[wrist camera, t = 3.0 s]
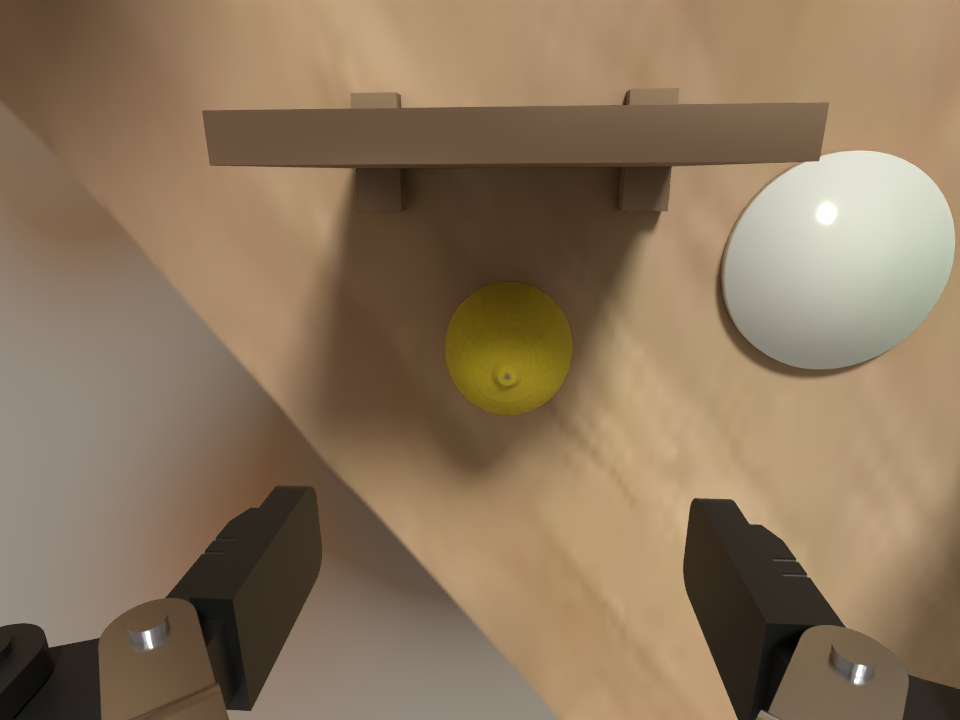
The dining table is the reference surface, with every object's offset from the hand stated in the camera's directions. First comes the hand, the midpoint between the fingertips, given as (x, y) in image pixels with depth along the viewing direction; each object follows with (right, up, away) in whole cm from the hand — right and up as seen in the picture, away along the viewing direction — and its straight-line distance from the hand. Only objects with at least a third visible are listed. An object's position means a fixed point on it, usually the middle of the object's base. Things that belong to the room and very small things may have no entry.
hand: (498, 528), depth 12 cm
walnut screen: (+1, +13, +14) cm, 19 cm away
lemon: (+1, +6, +17) cm, 18 cm away
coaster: (+16, +8, +15) cm, 23 cm away
